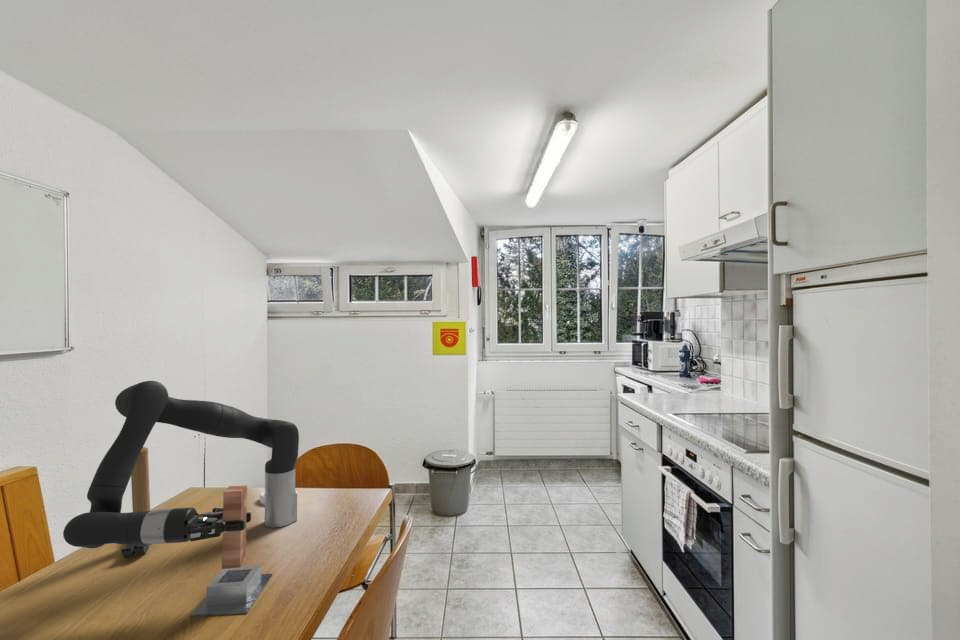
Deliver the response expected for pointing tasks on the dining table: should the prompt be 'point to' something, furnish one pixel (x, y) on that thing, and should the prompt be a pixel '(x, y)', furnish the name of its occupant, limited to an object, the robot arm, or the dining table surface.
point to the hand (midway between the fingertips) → (247, 521)
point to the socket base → (231, 606)
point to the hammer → (139, 497)
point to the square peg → (234, 539)
